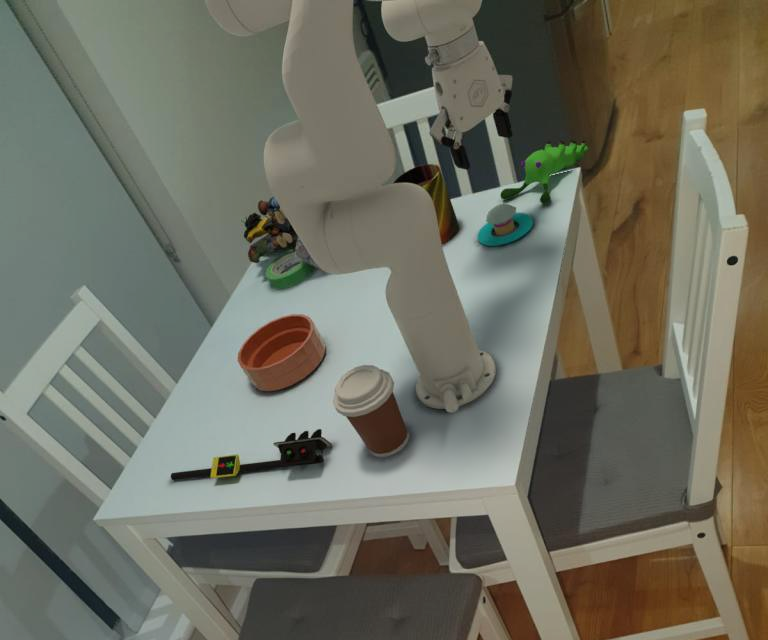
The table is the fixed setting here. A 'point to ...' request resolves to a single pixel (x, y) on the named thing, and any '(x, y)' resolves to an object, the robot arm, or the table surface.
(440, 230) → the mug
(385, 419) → the cocoa
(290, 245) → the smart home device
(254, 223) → the doll family
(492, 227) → the ornament
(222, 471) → the miniature traffic light
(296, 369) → the bowl
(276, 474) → the table surface
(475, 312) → the table surface
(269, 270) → the tape roll
